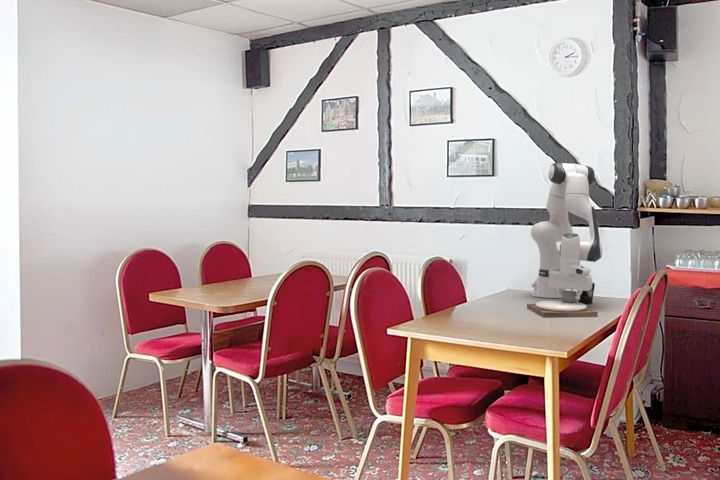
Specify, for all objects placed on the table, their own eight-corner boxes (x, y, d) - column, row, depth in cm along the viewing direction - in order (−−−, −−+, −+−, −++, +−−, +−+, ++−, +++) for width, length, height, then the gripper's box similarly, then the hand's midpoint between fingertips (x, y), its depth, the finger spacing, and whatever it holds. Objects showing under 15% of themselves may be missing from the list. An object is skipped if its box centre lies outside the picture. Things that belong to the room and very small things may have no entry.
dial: (573, 313, 305) (574, 298, 304) (527, 307, 319) (527, 293, 318) (595, 306, 322) (595, 292, 321) (550, 301, 336) (550, 288, 336)
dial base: (526, 307, 331) (526, 303, 331) (576, 307, 333) (576, 302, 333) (543, 317, 307) (544, 312, 307) (597, 316, 309) (597, 311, 309)
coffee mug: (592, 301, 348) (592, 281, 347) (596, 304, 340) (596, 284, 339) (568, 301, 349) (568, 281, 349) (571, 304, 341) (572, 283, 340)
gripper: (545, 267, 330) (545, 297, 331) (588, 271, 316) (587, 301, 317) (551, 266, 334) (551, 295, 335) (593, 269, 321) (593, 300, 322)
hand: (569, 298), depth 326 cm, fingers closed on dial, 7 cm apart
